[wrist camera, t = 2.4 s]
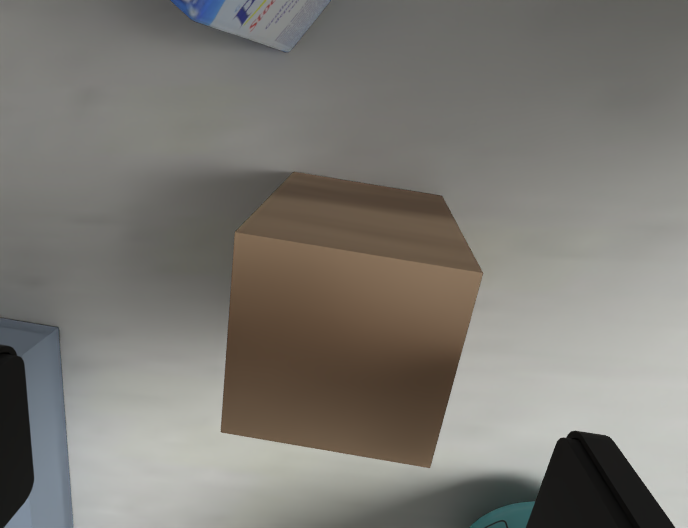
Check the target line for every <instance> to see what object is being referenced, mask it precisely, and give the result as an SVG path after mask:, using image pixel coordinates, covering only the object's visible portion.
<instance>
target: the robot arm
mask: <svg viewBox="0 0 688 528" xmlns="http://www.w3.org/2000/svg"><path fill="white" fill-rule="evenodd" d="M33 484H34V468H33V456H32V445H31V433H30V421H29V410H28V398H27V386H26V375H25V364H24V360H23V359H22V357H20V356H17V353H16V351H15V350H14V348H13V347H11V346H7V345H1V344H0V528H4V527H5V526H6V525H7V523H8V522H9V521H10V520H11V518H12V517H13V516H14V515H15V514H16V512H17V511H18V510H19V509H20V508H21V506H22V505H23V504H24V503H25V501H26V500H27V499H28V497H29V495H30V493H31V491H32V488H33ZM526 528H675V527H674V525H673V524H672V522H671V521H670V519H669V518H668V517H667V515H666V514H665V512H664V511H663V510H662V508H661V507H660V505H659V504H658V503H657V501H656V500H655V498H654V497H653V496H652V494H651V493H650V491H649V490H648V489H647V487H646V486H645V484H644V483H643V482H642V480H641V479H640V477H639V476H638V475H637V473H636V472H635V470H634V469H633V468H632V466H631V465H630V463H629V462H628V461H627V459H626V458H625V456H624V455H623V454H622V452H621V451H620V449H619V448H618V447H617V445H616V444H615V442H614V441H613V440H612V439H611V438H610V437H608V436H606V435H600V434H593V433H586V432H580V431H572V432H570V433H569V434H568V436H567V438H560V439H559V440H558V441H557V443H556V446H555V448H554V451H553V454H552V457H551V459H550V462H549V465H548V468H547V470H546V473H545V476H544V479H543V481H542V484H541V487H540V490H539V492H538V495H537V498H536V501H535V503H534V506H533V509H532V512H531V514H530V517H529V520H528V523H527V525H526Z"/></svg>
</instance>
